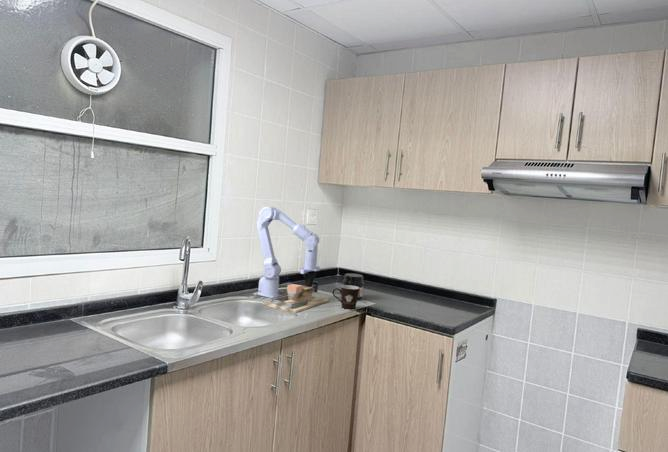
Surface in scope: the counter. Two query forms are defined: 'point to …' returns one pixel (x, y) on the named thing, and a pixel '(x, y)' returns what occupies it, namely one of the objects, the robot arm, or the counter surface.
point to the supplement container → (355, 282)
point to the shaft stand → (297, 301)
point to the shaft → (293, 295)
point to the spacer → (294, 288)
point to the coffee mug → (348, 296)
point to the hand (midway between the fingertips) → (308, 286)
